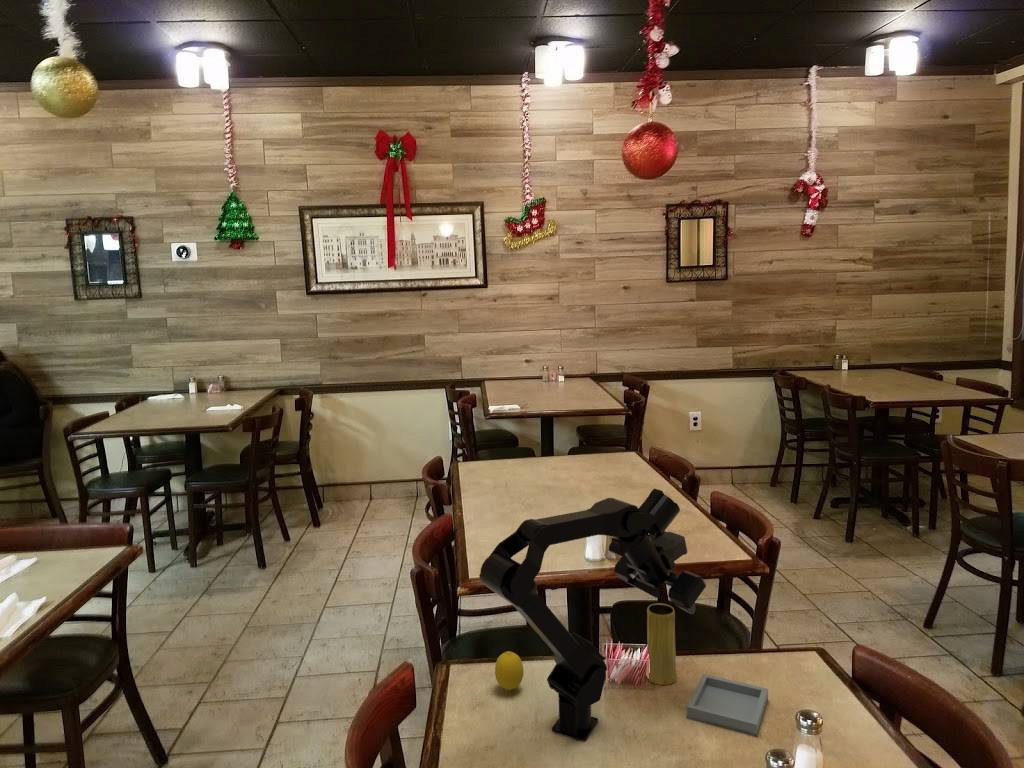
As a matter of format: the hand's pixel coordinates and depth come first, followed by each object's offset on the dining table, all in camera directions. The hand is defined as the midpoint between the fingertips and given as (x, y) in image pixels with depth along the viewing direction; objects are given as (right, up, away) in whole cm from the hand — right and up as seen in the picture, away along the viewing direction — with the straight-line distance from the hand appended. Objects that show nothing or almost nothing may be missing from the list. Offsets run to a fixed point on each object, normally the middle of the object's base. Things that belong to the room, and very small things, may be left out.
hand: (675, 604), depth 136 cm
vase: (-2, -16, +3) cm, 16 cm away
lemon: (-32, -17, 0) cm, 36 cm away
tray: (+8, -16, -8) cm, 20 cm away
